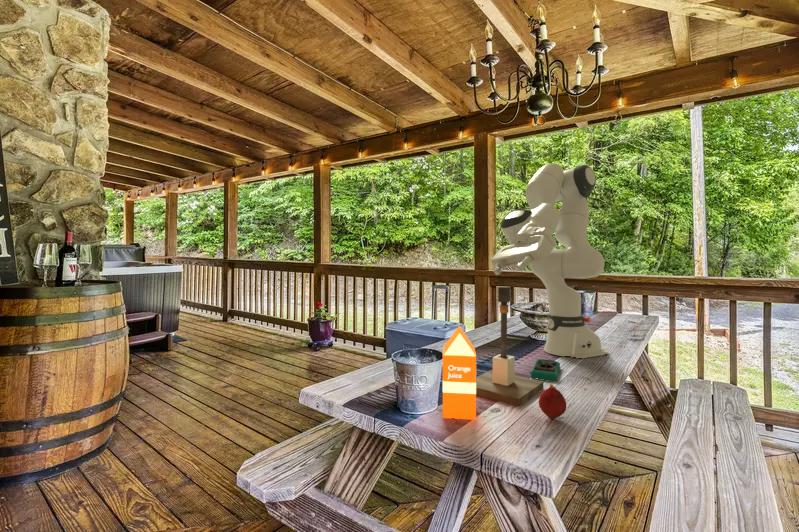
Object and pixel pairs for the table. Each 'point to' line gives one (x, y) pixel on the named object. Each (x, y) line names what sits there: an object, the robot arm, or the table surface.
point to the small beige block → (503, 370)
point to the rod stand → (522, 386)
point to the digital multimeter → (546, 370)
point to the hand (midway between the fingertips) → (507, 271)
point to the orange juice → (459, 377)
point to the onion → (552, 402)
